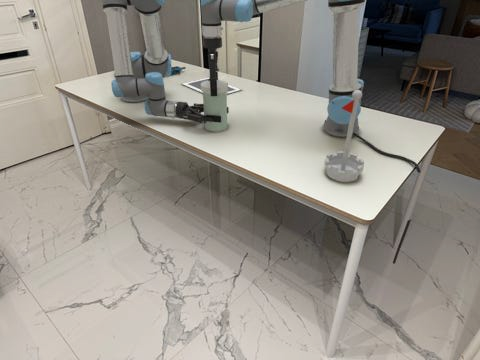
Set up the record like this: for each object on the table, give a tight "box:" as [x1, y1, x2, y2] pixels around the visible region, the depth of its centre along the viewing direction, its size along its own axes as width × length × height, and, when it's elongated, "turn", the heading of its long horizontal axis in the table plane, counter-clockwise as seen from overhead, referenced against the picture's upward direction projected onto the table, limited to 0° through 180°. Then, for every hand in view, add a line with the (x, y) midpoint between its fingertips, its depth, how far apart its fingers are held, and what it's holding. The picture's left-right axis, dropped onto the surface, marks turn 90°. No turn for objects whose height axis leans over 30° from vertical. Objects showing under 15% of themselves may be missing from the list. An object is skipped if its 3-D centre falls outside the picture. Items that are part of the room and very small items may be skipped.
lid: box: [201, 79, 229, 94], centre depth 144 cm, size 12×12×2 cm
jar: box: [202, 91, 228, 133], centre depth 148 cm, size 10×10×19 cm
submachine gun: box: [171, 65, 187, 75], centre depth 224 cm, size 34×4×25 cm
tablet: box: [181, 76, 242, 95], centre depth 200 cm, size 32×20×1 cm, turn 41°
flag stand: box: [323, 90, 365, 183], centre depth 111 cm, size 13×13×30 cm
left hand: (224, 114), depth 149 cm, fingers closed on jar, 10 cm apart
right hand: (214, 91), depth 145 cm, fingers closed on lid, 11 cm apart
